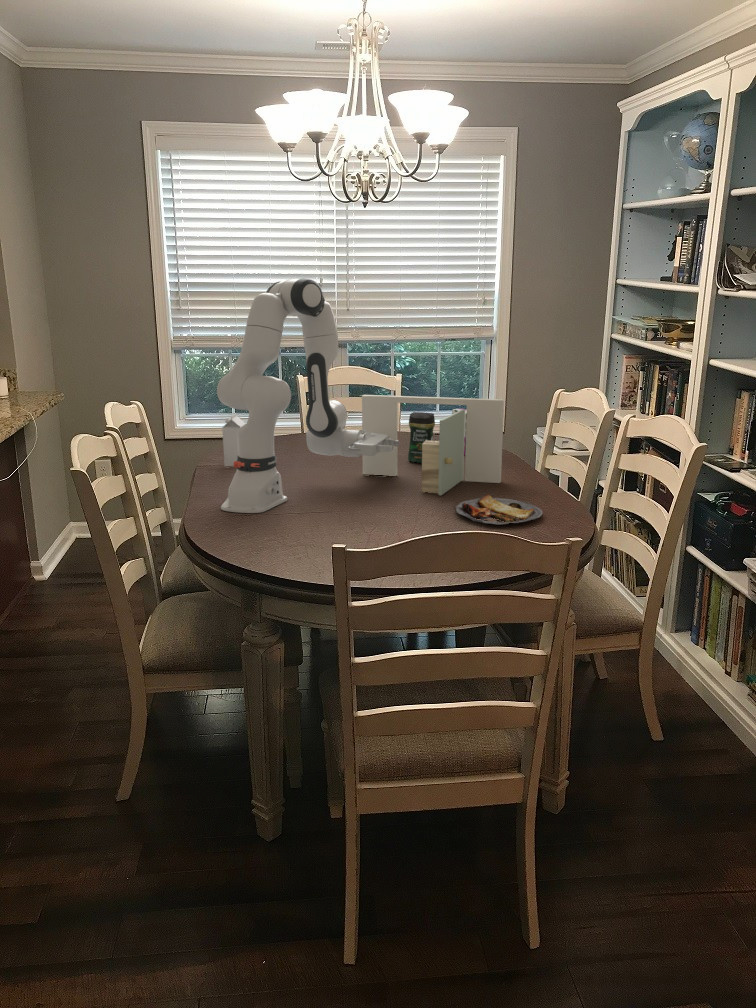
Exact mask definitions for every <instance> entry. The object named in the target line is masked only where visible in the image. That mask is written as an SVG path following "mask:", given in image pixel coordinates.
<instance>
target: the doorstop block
mask: <svg viewBox="0 0 756 1008" xmlns="http://www.w3.org/2000/svg"><path fill="white" fill-rule="evenodd" d="M438 489H439V440H433V441H427V440H425V442H424V443H423V444H422V463H421V493H425V492H428V494H429V493H430V494H438Z"/></svg>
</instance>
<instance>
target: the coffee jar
mask: <svg viewBox="0 0 756 1008" xmlns="http://www.w3.org/2000/svg"><path fill="white" fill-rule="evenodd" d="M435 420H436V419H435V414H434V413H433V412H424V411H420V412H419V411H417V412H416V411H413V412H411V413H410V414H409V419H408V426H409V430H410V432H409V433H410V436H409V447H408V455H407V460H408V461H409V462H410V461H411V462H410V463H414V462H417V464H422V444H423V443H424V442H425V440H427V441H434V428H435V425H436V421H435Z"/></svg>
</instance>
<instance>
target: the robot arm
mask: <svg viewBox="0 0 756 1008" xmlns="http://www.w3.org/2000/svg"><path fill="white" fill-rule="evenodd" d="M288 316H289V317H297V318H298V319H299V321H300V324H301V328H302V330H301V331H302V337H303V346H304V352H305V361H306V377H307V378H306V379H307V391H308V392H307V393H308V409H307V412H306V416H305V424H306V428H307V429H308V430H307V431H306V434H305V443H306V446H307V449H308V450H309V451H310V452H311V453H314V454H316V455H317V454H318V455H323V456H331V457H333V456H342V457H349V458H350V457H351V458H360V457H361V456H363V455H366V456H374V455H375V454H377V453H378V452H386V451H387V452H391V451H392V450H393V446H397V447H399V446H400V440H399V439H397V440H392V439H388V435H385V434H379V433H371V432H367V433H366V430H362V429H361V430H360V429H358V430H357V429H356V430H355V429H345V427H346V425H347V417H348V416H347V415H348V414H347V413H348V411H347V409H346V407H345V405H344V404H343V403H342V402H341V401H339V400H335V399H330V396H329V394H330V393H329V378H328V376H329V372H330V369H331V366H332V365H333V363H334V361H335V360H336V358H337V356H338V355H339V338H338V337H339V335H338V328H337V323H336V319H335V314H334V312H333V308H332V306H331V304H330V303H329V302H328V301H326V300H325V297H324V292H323V290H322V288H321V285H319V283H318V282H317V281H315V280H314V279H311V278H307V277H306V278H305V277H304V278H296V279H295V278H290V279H289V278H288V279H286V280H280V281H277V282H274V283H272V284H271V285H270V286H269V287H268V288H267V290H266V291H265V292H262V293H260V294H258V295H256V296H255V297H254V299H253V301H252V304H251V306H250V309H249V313H248V315H247V319H246V320H247V321H246V325H245V326H246V327H245V331H244V337H243V342H242V346H241V349H240V353H239V355H238V358H237V360H236V361H235V363H234V365H233V367H232V368H231V369H230V370H229V371H228V373H225V375H224V376H222V377H221V378H220V379H219V381H218V382H217V388H216V394H217V398H218V400H219V401H220V403H221V404H223V405H224V406H227V407H229V408H232V409H235V410H240V411H248V419H247V421H246V422H245V423H246V424H245V425H243V426H242V427H241V428H240V429H239V431H238V434H237V436H238V454H239V455H238V456H237V461H234V463H233V465H234V468H236V470H235V473H234V475H233V477H232V480H231V482H230V485H228V486H229V487H228V491H227V498H226V499H225V501H224V502H223V503H222V504H221V506H220V510H222V511H225V512H229V513H230V512H232V513H240V514H245V513H246V514H256V513H257V514H259V513H265V512H266V511H268V510H271V509H273V508H274V507H277V506H279V505H281V504H283V503H285V502H287V501H288V496H286V495H284V493H283V491H284V490H283V484H282V476H281V473H280V472H279V471H278V469H277V468H276V467H277V455H276V453H275V429H276V425H277V422H278V419H279V417H280V416H281V414H282V413H283V412H284V411H285V410H286V409H287V408H288V407H289V405H290V403H291V399H292V390H291V388H290V385H289V384H288V383H287V382H286V381H285V380H283V379H280V378H278V377H274V376H271V375H270V376H269V375H264V373H265V371H266V370H267V368H268V367H269V366H271V365H272V364H274V363H275V362H276V361H277V360H278V358H279V355H280V354H279V353H280V349H281V343H282V337H283V331H284V323H285V320H286V318H287V317H288Z"/></svg>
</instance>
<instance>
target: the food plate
mask: <svg viewBox="0 0 756 1008" xmlns="http://www.w3.org/2000/svg"><path fill="white" fill-rule="evenodd" d="M454 511H455V512H456V514H459V515H461V516H463V517H466V518H468V519H470V521H472V522H476V523H482V524H488V525H489V524H491V525H496V526H497V525H510V524H509V523H514V524H519V523H525V522H528V521H531V520H533V521H534V520H536V519H538V518H540V517H542V514H543V510H542V509H541V508H540V507H538V506H536V505H534V503H531V502H527V501H523V500H516V499H512V498H503V497H502V498H501V497H492V496H491V495H490V494H486V495H484V496H483V497H479V498H472V499H466V500H464V501H460V502H459V503H457V504H456V505H455V506H454ZM531 516H532V517H531ZM514 517H515V518H519V519H525V520H519V521H518V519H515V518H514ZM475 518H476V519H475ZM490 518H491V519H492V518H493V519H494V518H495V519H499V520H501V521H504V522H507V523H504V522H501V521H500V522H498V523H497V521H494V522H491V521H484V519H490ZM477 519H481V520H477ZM514 521H516V522H514ZM508 522H509V523H508Z"/></svg>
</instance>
